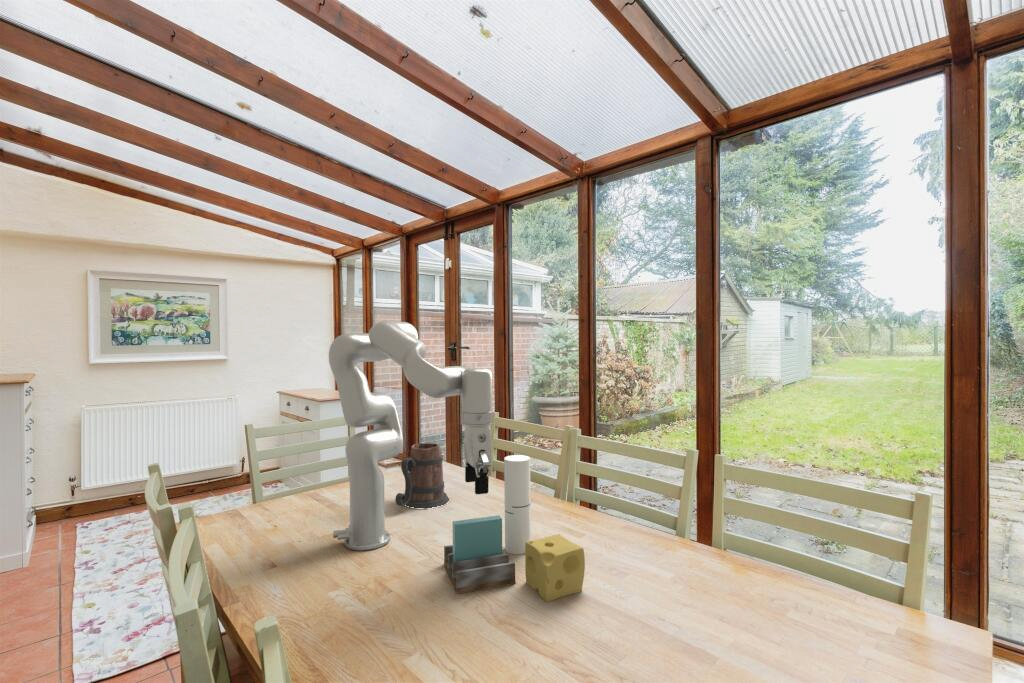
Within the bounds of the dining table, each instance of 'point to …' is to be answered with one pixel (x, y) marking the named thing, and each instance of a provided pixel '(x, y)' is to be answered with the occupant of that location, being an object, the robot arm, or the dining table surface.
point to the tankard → (423, 478)
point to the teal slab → (477, 538)
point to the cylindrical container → (517, 503)
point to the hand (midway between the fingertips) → (476, 487)
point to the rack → (479, 571)
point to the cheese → (554, 566)
